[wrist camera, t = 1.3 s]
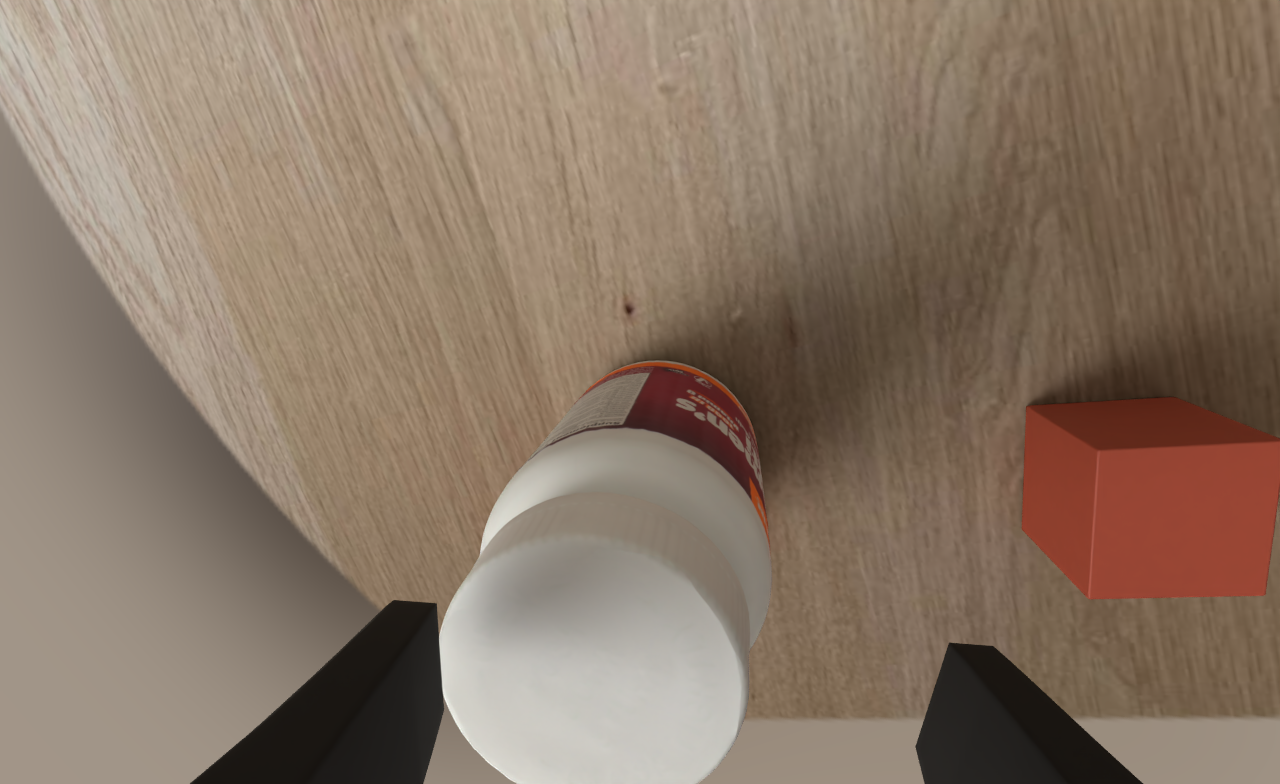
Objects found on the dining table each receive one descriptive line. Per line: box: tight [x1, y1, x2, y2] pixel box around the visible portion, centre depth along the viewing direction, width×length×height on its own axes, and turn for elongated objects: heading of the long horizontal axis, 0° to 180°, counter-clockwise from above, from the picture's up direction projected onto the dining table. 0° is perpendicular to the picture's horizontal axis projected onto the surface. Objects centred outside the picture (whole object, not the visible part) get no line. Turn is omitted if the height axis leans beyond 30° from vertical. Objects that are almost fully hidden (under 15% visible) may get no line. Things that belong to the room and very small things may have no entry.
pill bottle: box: [439, 360, 772, 784], centre depth 16 cm, size 6×6×11 cm
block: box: [1022, 397, 1280, 599], centre depth 18 cm, size 4×4×4 cm
